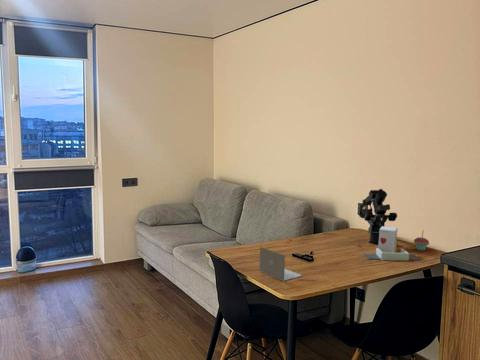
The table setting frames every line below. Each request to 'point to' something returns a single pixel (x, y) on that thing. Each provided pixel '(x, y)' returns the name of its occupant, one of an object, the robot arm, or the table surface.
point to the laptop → (275, 265)
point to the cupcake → (421, 243)
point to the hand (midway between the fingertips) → (383, 228)
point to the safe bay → (392, 256)
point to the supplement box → (387, 239)
